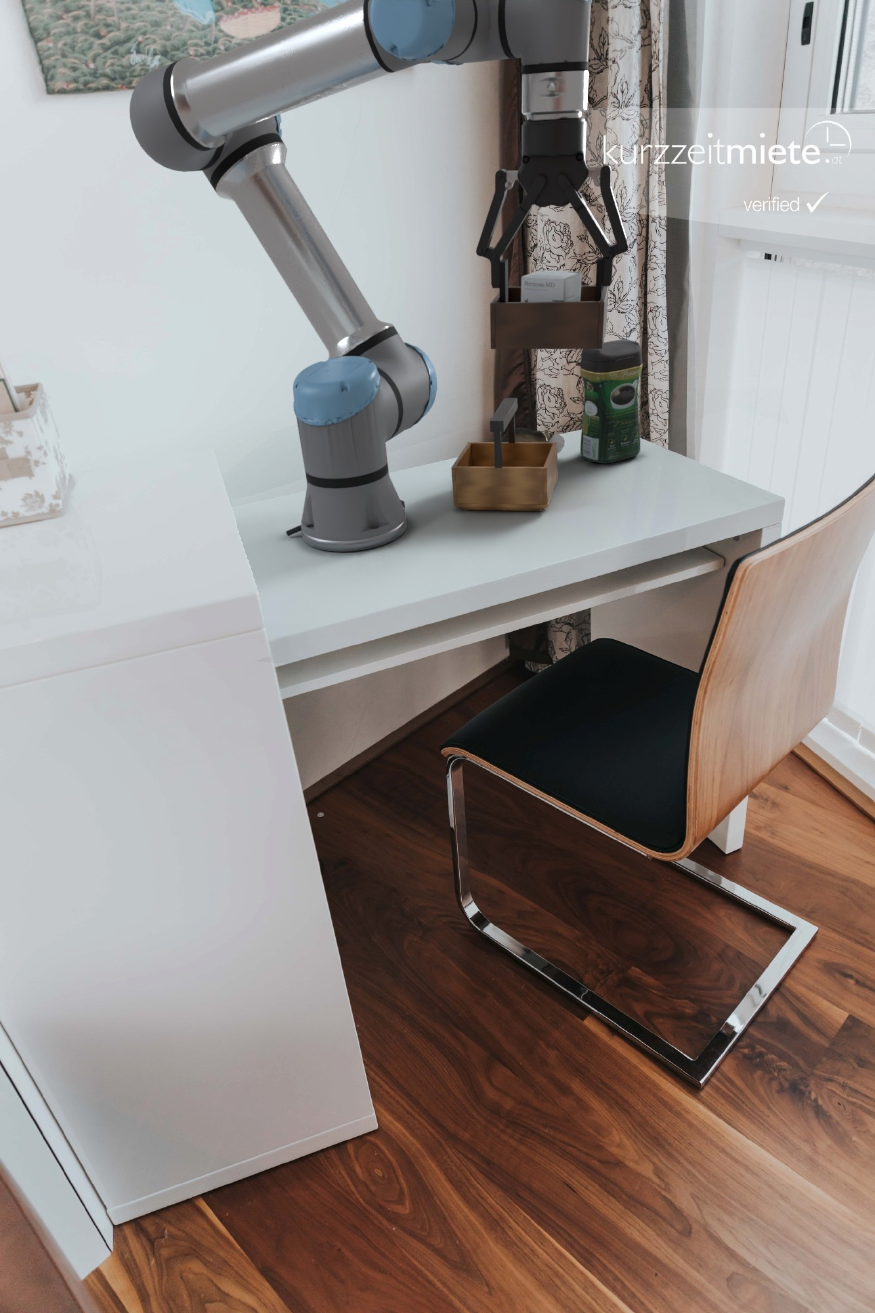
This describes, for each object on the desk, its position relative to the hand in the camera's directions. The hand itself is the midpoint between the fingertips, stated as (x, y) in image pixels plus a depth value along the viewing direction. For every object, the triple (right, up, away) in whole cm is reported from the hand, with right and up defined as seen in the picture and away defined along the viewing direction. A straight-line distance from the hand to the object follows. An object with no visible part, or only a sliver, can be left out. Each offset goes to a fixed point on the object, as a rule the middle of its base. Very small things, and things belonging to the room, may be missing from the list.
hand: (550, 314), depth 114 cm
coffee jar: (+14, -11, +34) cm, 39 cm away
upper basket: (-4, -20, +21) cm, 29 cm away
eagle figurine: (+2, -13, +33) cm, 35 cm away
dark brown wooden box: (0, -3, +2) cm, 3 cm away
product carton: (0, -2, +1) cm, 3 cm away
